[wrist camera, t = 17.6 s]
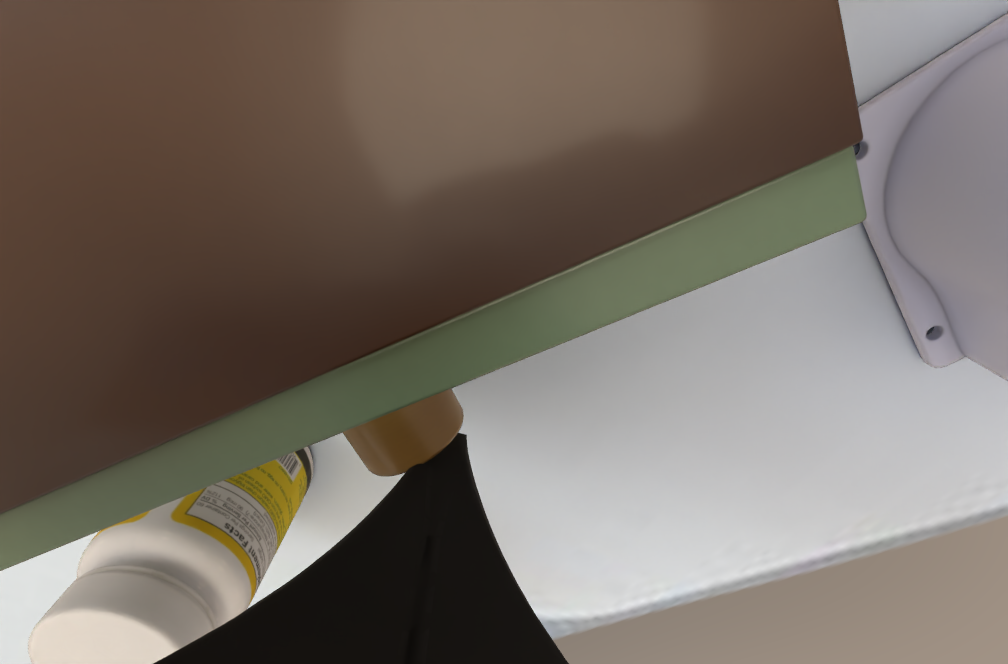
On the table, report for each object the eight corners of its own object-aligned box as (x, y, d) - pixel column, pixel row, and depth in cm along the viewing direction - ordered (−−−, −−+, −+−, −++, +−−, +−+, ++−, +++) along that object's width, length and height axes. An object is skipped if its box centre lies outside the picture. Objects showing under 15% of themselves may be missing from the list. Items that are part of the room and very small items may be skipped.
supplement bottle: (201, 497, 22) (30, 716, 14) (187, 398, 20) (-18, 589, 12) (318, 509, 22) (213, 732, 14) (316, 413, 20) (193, 611, 12)
